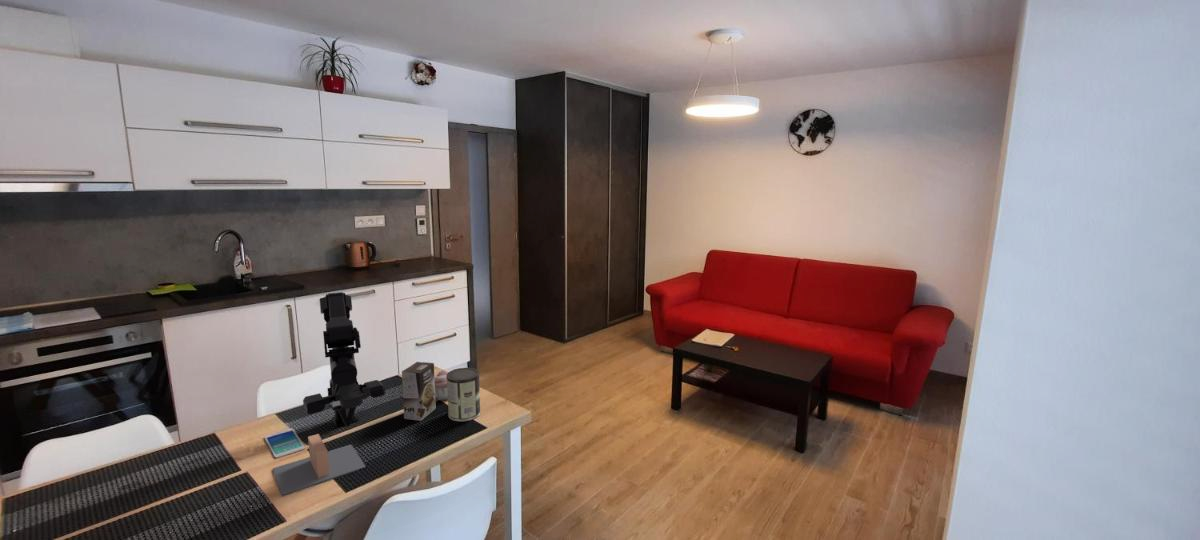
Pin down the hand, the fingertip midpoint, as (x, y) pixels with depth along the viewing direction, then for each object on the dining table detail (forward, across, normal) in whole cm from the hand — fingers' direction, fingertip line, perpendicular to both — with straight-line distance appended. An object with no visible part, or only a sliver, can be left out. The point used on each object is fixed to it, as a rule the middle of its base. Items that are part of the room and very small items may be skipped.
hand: (347, 425), depth 133 cm
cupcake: (+10, +36, +21) cm, 43 cm away
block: (+9, -7, 0) cm, 12 cm away
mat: (+10, -8, 0) cm, 12 cm away
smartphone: (+10, -12, +20) cm, 26 cm away
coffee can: (+10, +36, +5) cm, 37 cm away
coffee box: (+10, +24, +14) cm, 30 cm away
